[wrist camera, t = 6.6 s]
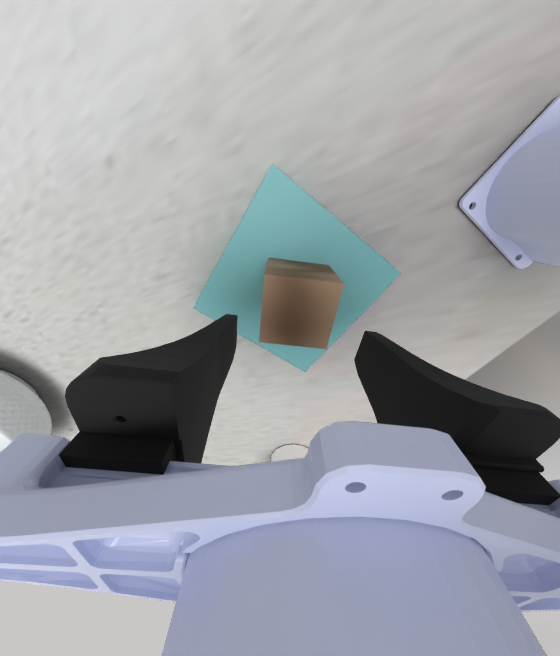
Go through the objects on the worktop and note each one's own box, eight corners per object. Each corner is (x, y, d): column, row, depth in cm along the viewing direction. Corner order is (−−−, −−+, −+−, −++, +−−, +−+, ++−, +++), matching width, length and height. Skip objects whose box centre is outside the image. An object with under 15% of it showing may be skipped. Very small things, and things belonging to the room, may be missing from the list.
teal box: (386, 265, 21) (401, 273, 18) (302, 355, 26) (305, 371, 24) (273, 170, 18) (272, 163, 15) (203, 296, 23) (193, 307, 20)
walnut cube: (328, 265, 18) (344, 283, 14) (316, 318, 21) (326, 349, 16) (268, 257, 18) (264, 274, 13) (263, 312, 20) (258, 342, 16)
